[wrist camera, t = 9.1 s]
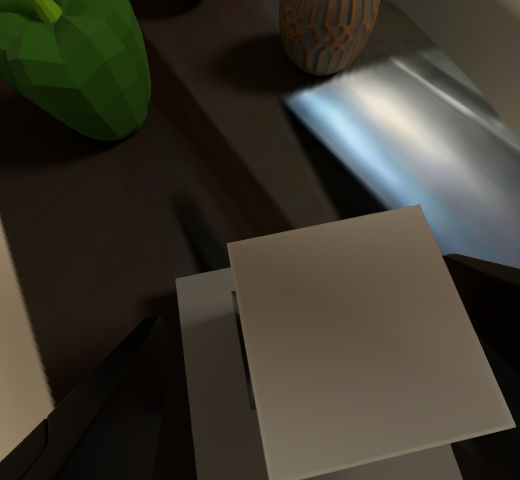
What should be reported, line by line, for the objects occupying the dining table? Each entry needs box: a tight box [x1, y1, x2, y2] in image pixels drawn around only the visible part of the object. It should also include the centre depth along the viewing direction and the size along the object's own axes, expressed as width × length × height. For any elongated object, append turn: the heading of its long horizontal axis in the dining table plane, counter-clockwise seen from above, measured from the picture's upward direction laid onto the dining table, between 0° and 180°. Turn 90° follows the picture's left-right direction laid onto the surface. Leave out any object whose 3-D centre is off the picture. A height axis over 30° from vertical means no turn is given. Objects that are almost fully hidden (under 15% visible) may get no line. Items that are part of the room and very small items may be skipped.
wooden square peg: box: [227, 205, 516, 480], centre depth 11 cm, size 4×4×13 cm
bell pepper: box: [0, 0, 151, 141], centre depth 18 cm, size 8×8×10 cm
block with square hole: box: [176, 268, 463, 480], centre depth 14 cm, size 16×11×3 cm
